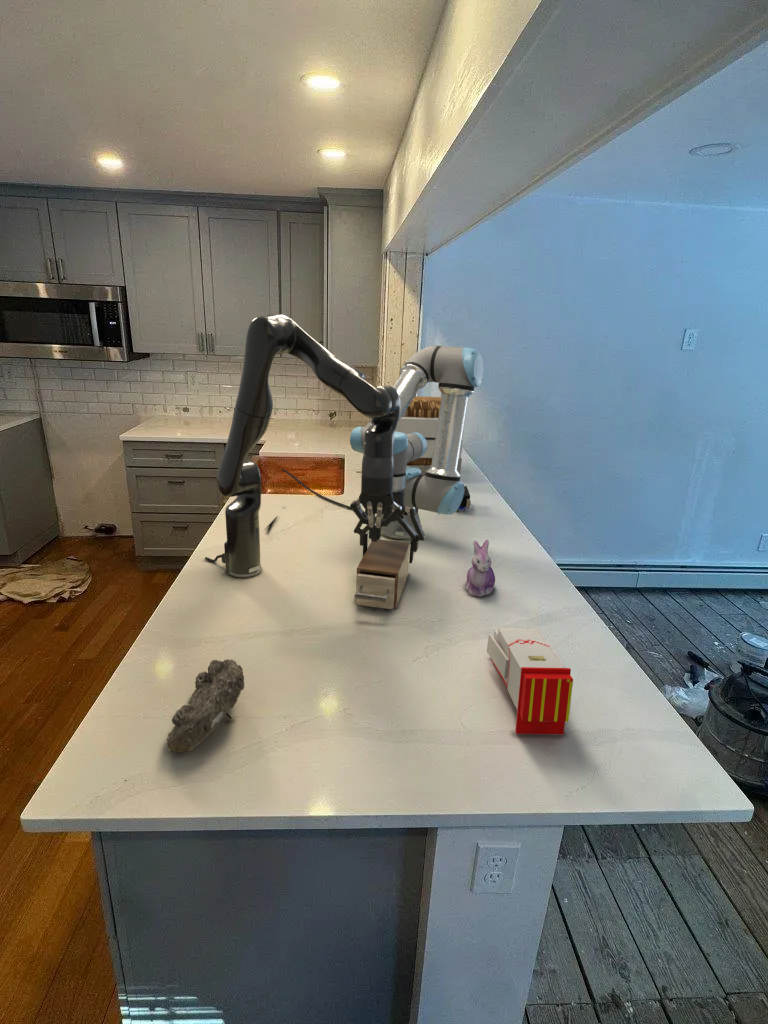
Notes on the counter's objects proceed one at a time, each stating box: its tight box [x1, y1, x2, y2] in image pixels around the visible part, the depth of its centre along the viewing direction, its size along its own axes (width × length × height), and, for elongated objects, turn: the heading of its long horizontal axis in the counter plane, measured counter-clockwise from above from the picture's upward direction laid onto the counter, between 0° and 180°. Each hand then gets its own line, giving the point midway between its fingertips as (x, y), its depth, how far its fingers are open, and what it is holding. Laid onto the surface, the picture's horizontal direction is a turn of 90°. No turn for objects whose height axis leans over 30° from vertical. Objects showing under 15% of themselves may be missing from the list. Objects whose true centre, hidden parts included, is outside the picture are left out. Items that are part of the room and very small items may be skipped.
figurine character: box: [456, 485, 472, 513], centre depth 228 cm, size 7×8×15 cm
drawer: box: [354, 571, 395, 610], centre depth 154 cm, size 25×10×8 cm, turn 169°
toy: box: [486, 627, 574, 736], centre depth 118 cm, size 12×13×30 cm
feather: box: [264, 516, 278, 533], centre depth 207 cm, size 2×28×2 cm
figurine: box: [465, 539, 496, 597], centre depth 159 cm, size 9×10×15 cm
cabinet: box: [355, 538, 411, 609], centre depth 159 cm, size 21×11×10 cm, turn 169°
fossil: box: [166, 658, 245, 754], centre depth 106 cm, size 22×10×15 cm
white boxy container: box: [395, 392, 465, 475], centre depth 268 cm, size 34×33×41 cm
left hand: (374, 540), depth 139 cm, fingers closed
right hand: (387, 558), depth 164 cm, fingers open, 13 cm apart
